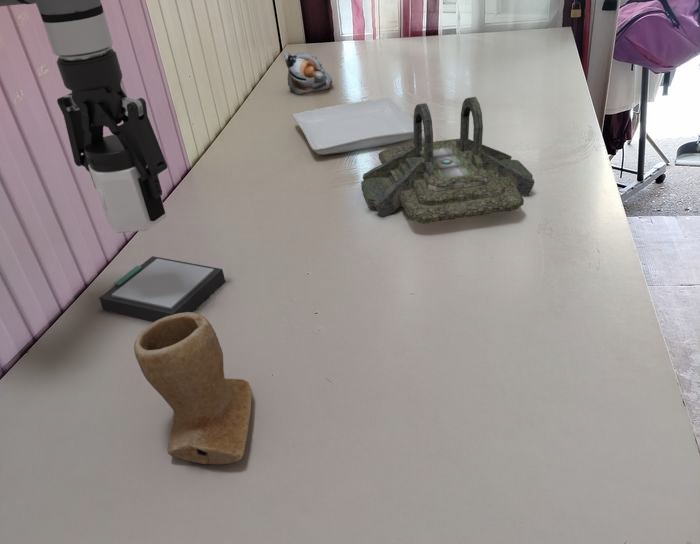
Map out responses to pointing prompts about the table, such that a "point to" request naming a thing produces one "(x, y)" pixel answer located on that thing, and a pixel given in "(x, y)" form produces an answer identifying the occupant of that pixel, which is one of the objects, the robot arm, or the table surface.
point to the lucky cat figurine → (306, 73)
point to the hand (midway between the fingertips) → (135, 213)
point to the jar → (118, 185)
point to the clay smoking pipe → (195, 388)
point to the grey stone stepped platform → (446, 174)
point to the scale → (162, 289)
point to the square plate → (355, 126)
